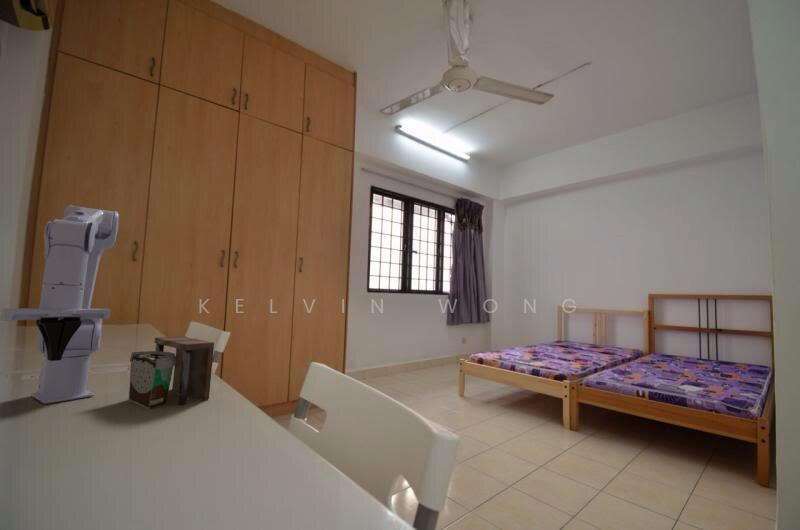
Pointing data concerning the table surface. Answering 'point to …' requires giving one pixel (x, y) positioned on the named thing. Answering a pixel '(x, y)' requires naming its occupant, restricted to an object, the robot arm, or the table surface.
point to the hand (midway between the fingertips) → (54, 360)
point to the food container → (150, 377)
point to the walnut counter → (190, 366)
